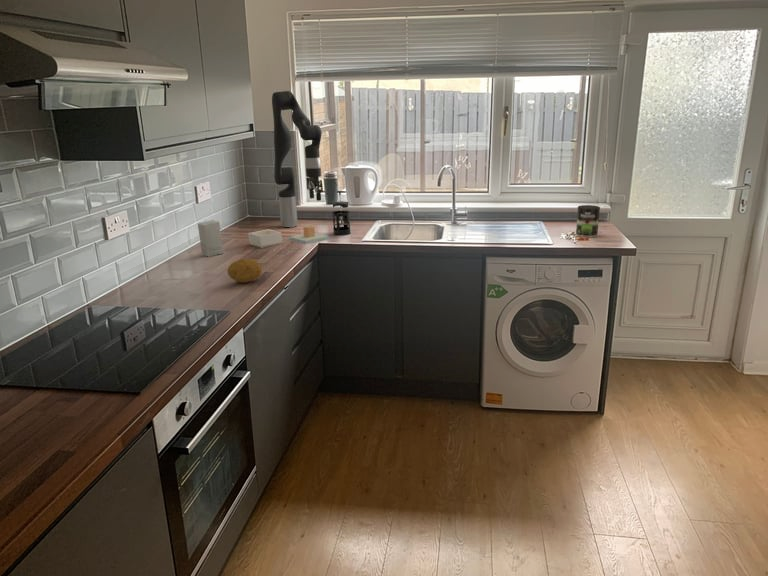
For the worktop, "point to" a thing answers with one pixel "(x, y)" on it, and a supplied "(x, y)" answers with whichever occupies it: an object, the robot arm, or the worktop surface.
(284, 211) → the robot arm
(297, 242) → the mat
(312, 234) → the lid
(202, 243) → the skincare box
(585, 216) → the coffee can
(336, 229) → the french press
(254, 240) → the dish
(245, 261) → the potato
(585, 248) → the worktop surface
